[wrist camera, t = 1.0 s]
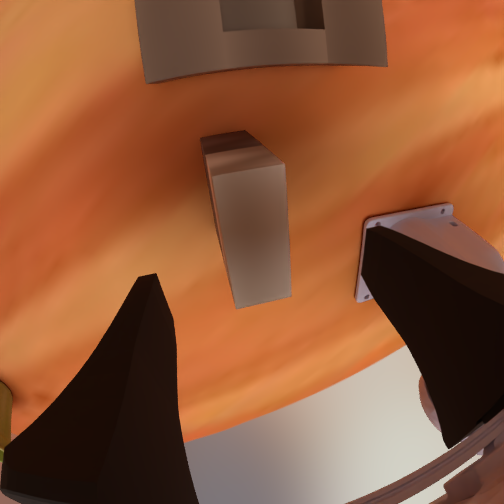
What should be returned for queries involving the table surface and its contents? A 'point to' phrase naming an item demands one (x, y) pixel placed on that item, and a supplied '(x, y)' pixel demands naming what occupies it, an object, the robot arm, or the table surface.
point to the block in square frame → (256, 35)
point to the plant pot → (5, 418)
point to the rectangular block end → (249, 216)
